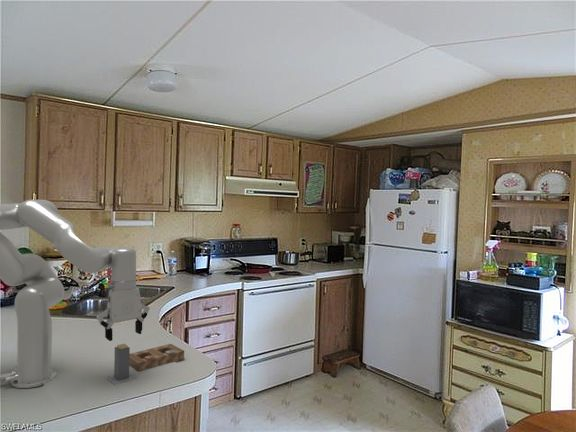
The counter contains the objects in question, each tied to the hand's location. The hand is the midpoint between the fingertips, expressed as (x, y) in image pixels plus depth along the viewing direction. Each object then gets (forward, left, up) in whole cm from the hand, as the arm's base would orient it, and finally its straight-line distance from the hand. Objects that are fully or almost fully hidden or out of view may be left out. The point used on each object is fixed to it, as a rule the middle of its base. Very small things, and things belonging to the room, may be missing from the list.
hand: (124, 336), depth 133 cm
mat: (0, 0, -14) cm, 14 cm away
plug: (0, 0, -14) cm, 14 cm away
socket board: (+15, +6, -14) cm, 21 cm away
